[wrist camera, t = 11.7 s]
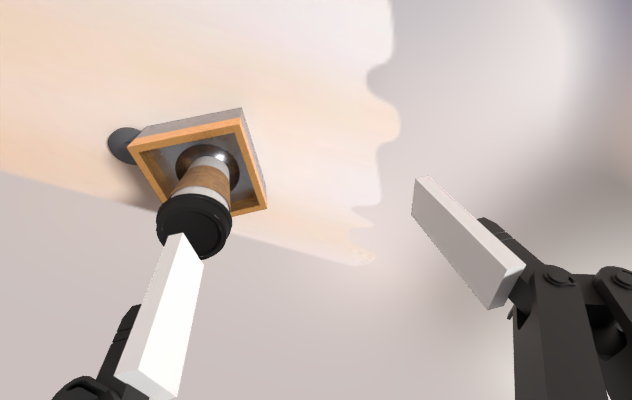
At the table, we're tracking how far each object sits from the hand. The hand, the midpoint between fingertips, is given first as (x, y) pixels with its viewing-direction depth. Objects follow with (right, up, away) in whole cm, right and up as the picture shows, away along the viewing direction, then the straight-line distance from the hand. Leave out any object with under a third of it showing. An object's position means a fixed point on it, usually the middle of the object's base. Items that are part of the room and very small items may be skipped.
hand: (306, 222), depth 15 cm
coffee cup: (-17, +6, +27) cm, 32 cm away
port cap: (-29, +10, +27) cm, 41 cm away
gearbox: (-18, +9, +31) cm, 36 cm away
